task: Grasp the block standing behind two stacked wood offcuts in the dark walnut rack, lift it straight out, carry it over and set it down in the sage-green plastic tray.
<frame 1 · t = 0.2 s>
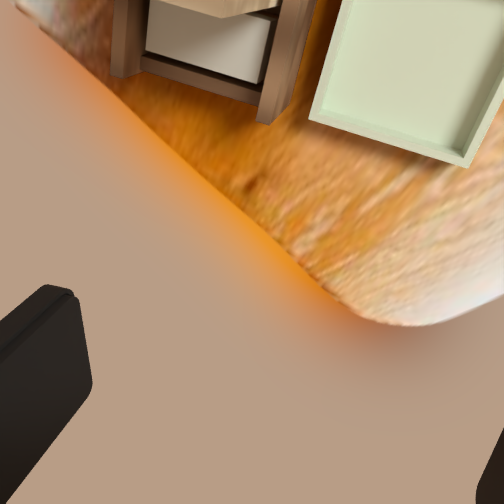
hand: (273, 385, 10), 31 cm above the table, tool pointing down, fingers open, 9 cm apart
rack: (233, 0, 36), on the table
offcut top: (215, 33, 34), point 3 cm above the table, touching offcut low
tray: (419, 53, 34), on the table
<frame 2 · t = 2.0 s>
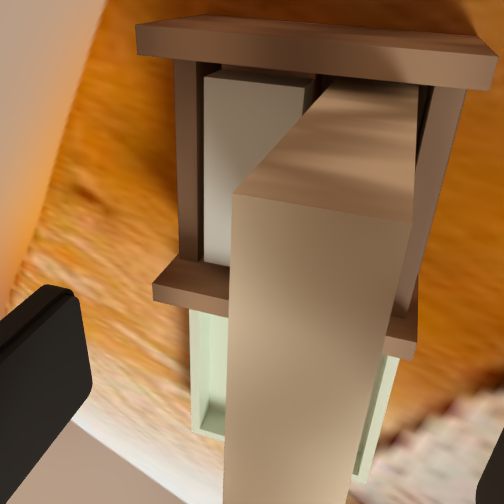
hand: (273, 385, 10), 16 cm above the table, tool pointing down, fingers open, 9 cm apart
rack: (316, 156, 24), on the table
offcut top: (261, 170, 22), point 3 cm above the table, touching offcut low
block: (364, 170, 23), point 1 cm above the table, touching rack
offcut low: (272, 157, 24), point 1 cm above the table, touching offcut top, rack
tray: (291, 366, 31), on the table
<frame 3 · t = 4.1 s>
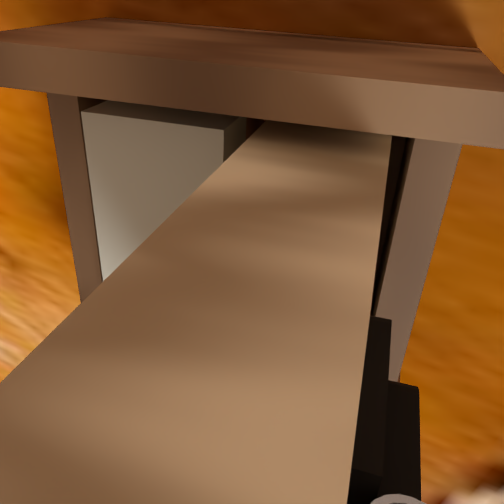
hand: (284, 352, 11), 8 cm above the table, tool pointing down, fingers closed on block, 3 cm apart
rack: (264, 205, 18), on the table
offcut top: (184, 231, 16), point 3 cm above the table, touching offcut low
block: (326, 227, 17), point 1 cm above the table, touching gripper, rack
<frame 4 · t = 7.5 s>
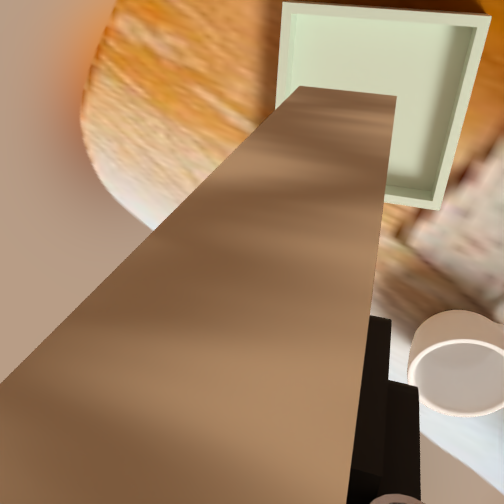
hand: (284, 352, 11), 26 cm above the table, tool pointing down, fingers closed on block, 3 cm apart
block: (328, 220, 17), point 19 cm above the table, touching gripper
teacup: (468, 328, 40), on the table
tray: (368, 104, 33), on the table
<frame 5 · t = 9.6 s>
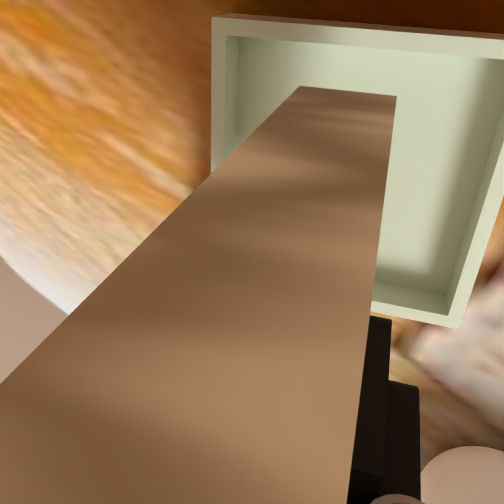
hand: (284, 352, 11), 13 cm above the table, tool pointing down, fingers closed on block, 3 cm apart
block: (328, 220, 17), point 6 cm above the table, touching gripper
teacup: (495, 465, 29), on the table
tray: (351, 167, 22), on the table
when the fingers open (8 cm above the table, at t = 11.3 s): block stays where it is, resting on tray.
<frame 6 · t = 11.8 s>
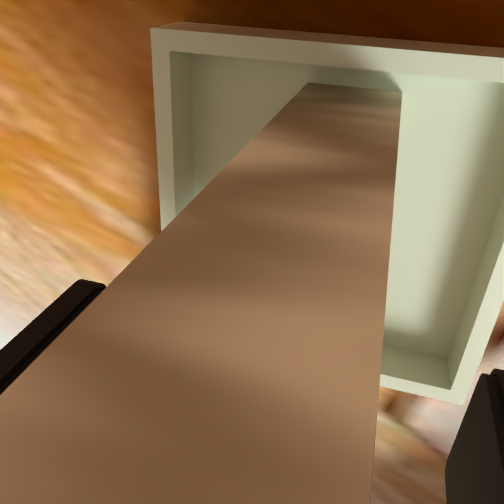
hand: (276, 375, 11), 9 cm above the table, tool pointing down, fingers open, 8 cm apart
block: (335, 213, 18), point 1 cm above the table, touching tray
tray: (333, 208, 18), on the table
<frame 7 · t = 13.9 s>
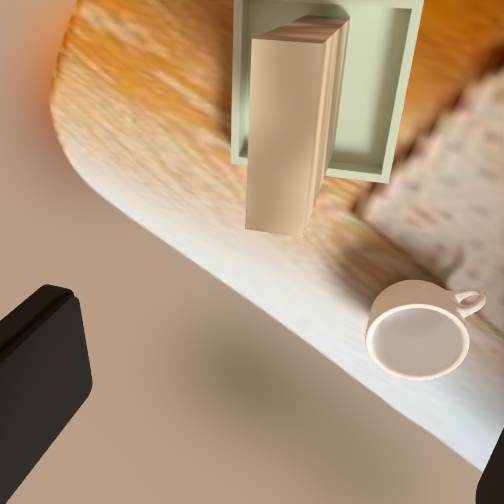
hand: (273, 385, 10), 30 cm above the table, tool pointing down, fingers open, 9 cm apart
block: (321, 85, 35), point 1 cm above the table, touching tray
teacup: (424, 297, 42), on the table
tray: (319, 84, 35), on the table
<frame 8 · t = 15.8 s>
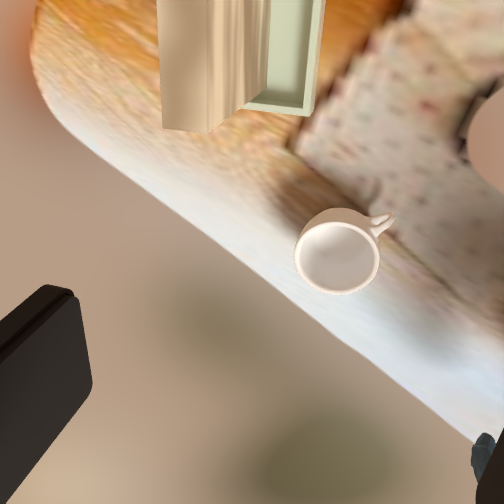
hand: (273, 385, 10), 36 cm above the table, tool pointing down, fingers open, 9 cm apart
block: (252, 31, 41), point 1 cm above the table, touching tray
teacup: (351, 227, 48), on the table
tray: (252, 31, 42), on the table
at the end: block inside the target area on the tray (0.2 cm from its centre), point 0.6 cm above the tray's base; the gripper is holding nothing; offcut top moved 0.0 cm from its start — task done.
